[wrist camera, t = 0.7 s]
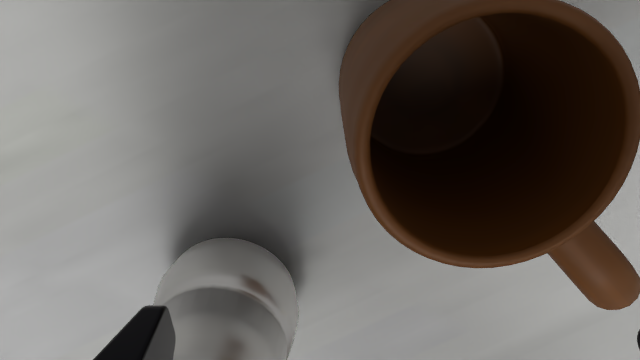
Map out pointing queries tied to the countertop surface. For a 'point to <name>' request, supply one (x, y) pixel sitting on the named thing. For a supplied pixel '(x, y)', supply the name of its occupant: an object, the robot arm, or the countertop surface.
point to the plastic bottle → (230, 302)
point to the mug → (494, 134)
